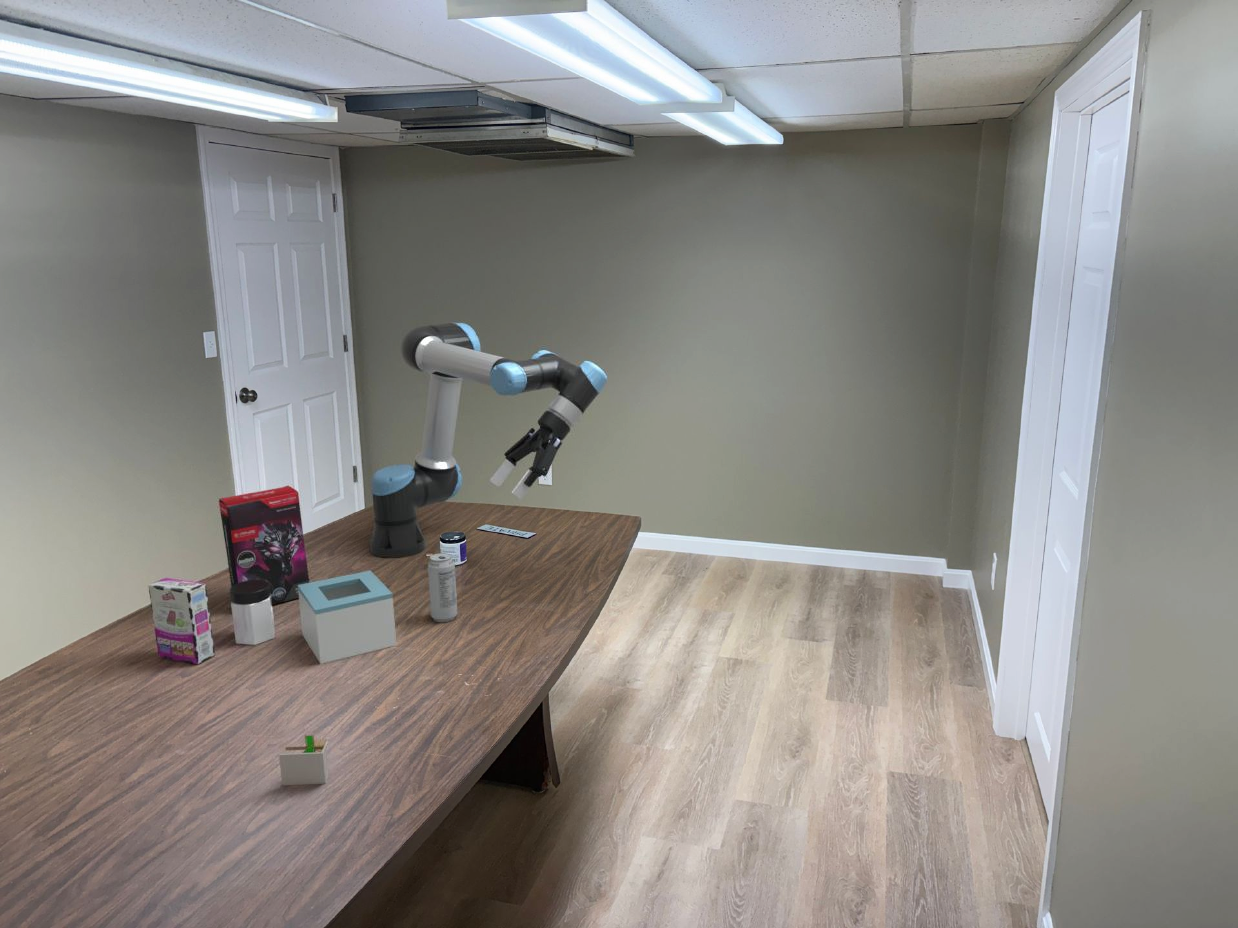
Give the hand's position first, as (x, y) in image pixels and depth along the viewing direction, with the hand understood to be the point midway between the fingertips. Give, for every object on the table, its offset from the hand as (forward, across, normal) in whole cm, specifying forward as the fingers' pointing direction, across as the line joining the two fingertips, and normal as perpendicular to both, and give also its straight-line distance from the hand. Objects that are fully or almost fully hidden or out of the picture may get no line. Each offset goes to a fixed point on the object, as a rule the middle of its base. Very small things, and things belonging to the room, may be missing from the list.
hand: (504, 490), depth 204 cm
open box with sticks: (+61, -50, +20) cm, 81 cm away
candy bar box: (+69, +8, +31) cm, 76 cm away
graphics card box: (+54, +30, +17) cm, 65 cm away
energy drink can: (+32, 0, -8) cm, 33 cm away
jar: (+59, +11, +21) cm, 64 cm away
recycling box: (+47, -1, +8) cm, 48 cm away
